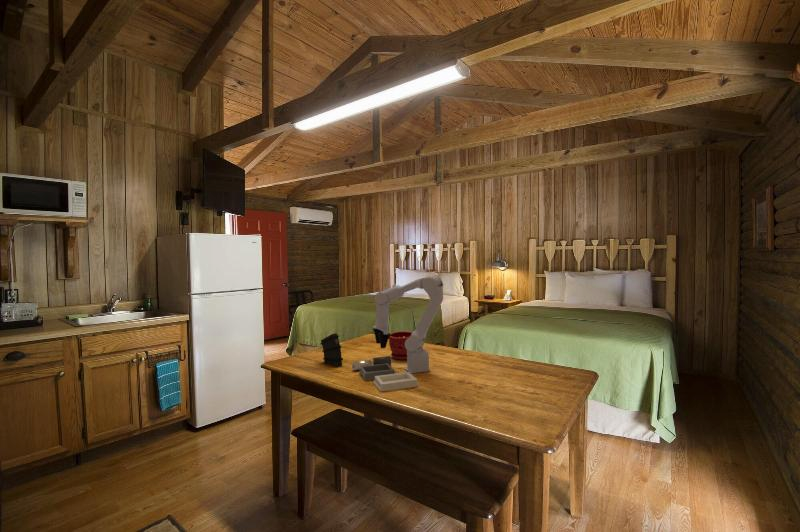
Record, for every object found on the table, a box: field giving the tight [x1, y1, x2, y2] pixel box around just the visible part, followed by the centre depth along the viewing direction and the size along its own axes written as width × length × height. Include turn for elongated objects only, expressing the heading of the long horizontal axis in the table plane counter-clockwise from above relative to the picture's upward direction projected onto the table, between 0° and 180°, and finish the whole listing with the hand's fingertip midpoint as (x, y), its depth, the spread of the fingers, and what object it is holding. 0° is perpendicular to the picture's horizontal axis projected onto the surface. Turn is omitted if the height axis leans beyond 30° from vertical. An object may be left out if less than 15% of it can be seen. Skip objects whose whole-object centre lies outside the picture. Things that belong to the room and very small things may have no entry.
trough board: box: [372, 371, 419, 392], centre depth 156 cm, size 16×10×3 cm, turn 109°
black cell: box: [371, 355, 392, 366], centre depth 182 cm, size 9×4×4 cm, turn 109°
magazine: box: [319, 332, 344, 368], centre depth 185 cm, size 4×13×15 cm, turn 45°
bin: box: [359, 363, 396, 381], centre depth 168 cm, size 13×10×3 cm
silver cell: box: [351, 359, 373, 372], centre depth 176 cm, size 9×4×4 cm
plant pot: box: [388, 331, 413, 361], centre depth 194 cm, size 13×13×12 cm
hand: (380, 345), depth 181 cm, fingers open, 7 cm apart
